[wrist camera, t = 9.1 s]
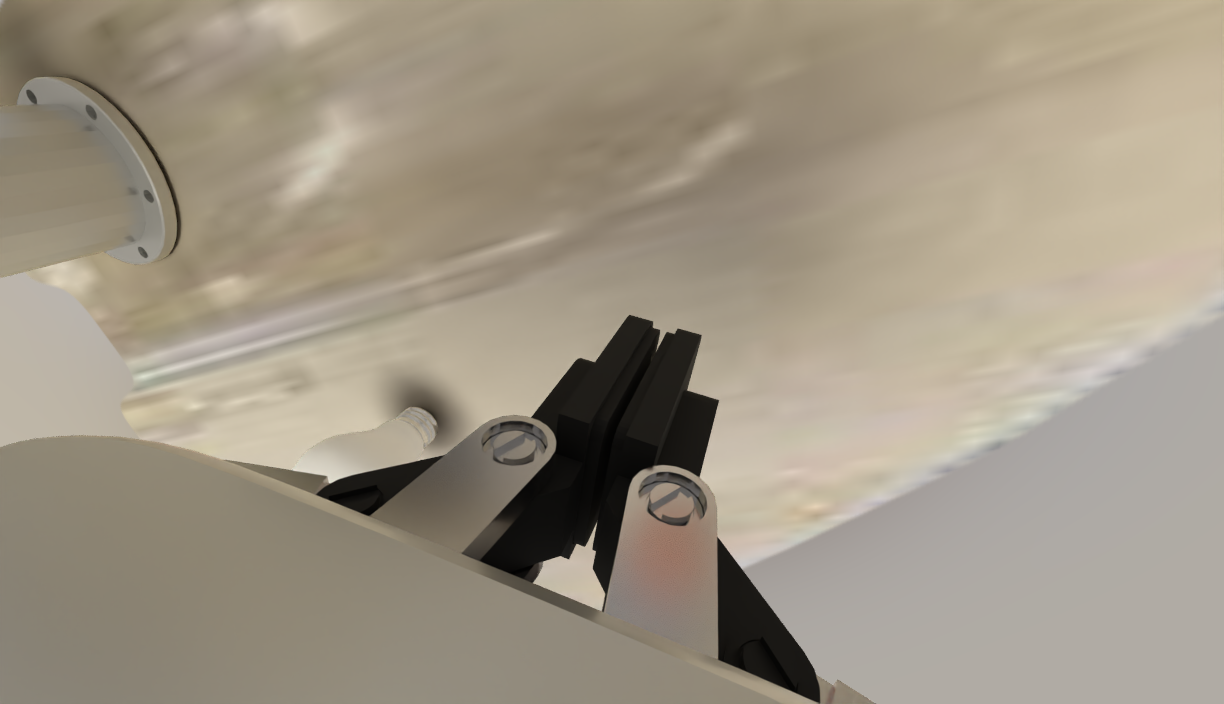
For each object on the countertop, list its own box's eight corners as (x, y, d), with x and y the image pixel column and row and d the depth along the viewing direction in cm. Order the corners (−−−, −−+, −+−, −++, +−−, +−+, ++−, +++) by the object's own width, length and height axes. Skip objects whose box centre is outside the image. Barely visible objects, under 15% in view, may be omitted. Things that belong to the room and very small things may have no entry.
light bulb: (463, 390, 35) (340, 504, 26) (470, 463, 38) (364, 585, 29) (383, 368, 36) (241, 467, 27) (397, 439, 40) (274, 549, 31)
